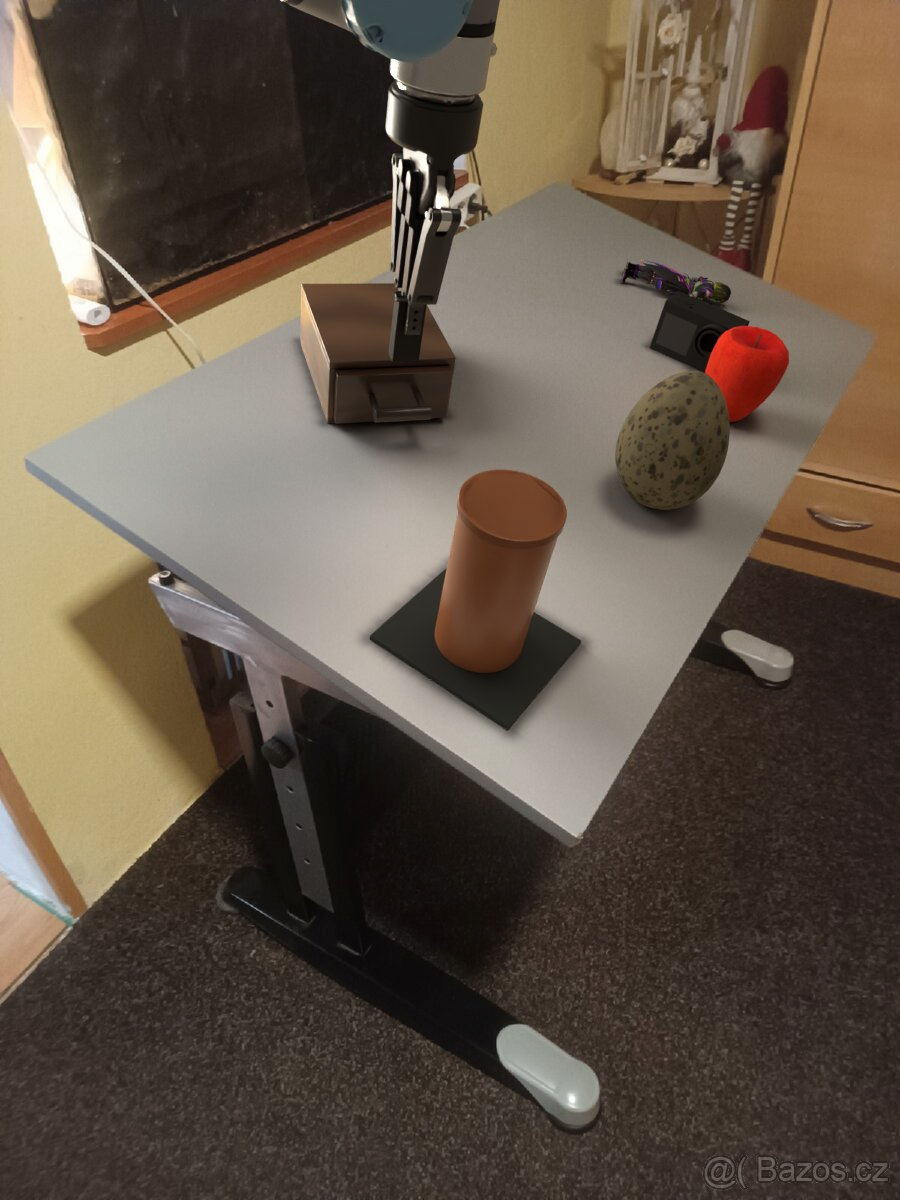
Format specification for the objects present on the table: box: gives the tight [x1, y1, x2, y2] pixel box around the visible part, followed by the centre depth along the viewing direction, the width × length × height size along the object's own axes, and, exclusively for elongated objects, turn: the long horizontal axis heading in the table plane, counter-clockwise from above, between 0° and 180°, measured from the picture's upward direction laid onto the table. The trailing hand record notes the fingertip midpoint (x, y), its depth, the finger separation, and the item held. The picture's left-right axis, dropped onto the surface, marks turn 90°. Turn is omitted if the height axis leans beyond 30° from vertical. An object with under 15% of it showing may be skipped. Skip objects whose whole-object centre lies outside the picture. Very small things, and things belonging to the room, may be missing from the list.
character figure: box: [620, 258, 732, 305], centre depth 123 cm, size 9×4×16 cm
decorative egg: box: [614, 370, 731, 511], centre depth 83 cm, size 11×11×15 cm
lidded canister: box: [435, 469, 568, 673], centre depth 65 cm, size 8×8×15 cm
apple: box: [705, 325, 790, 423], centre depth 99 cm, size 9×9×11 cm
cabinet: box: [299, 282, 457, 425], centre depth 94 cm, size 17×14×8 cm
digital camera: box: [649, 291, 750, 373], centre depth 108 cm, size 10×5×7 cm, turn 55°
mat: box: [369, 567, 582, 731], centre depth 71 cm, size 14×12×1 cm
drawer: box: [333, 365, 454, 425], centre depth 92 cm, size 20×12×6 cm, turn 17°
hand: (403, 357), depth 81 cm, fingers closed
